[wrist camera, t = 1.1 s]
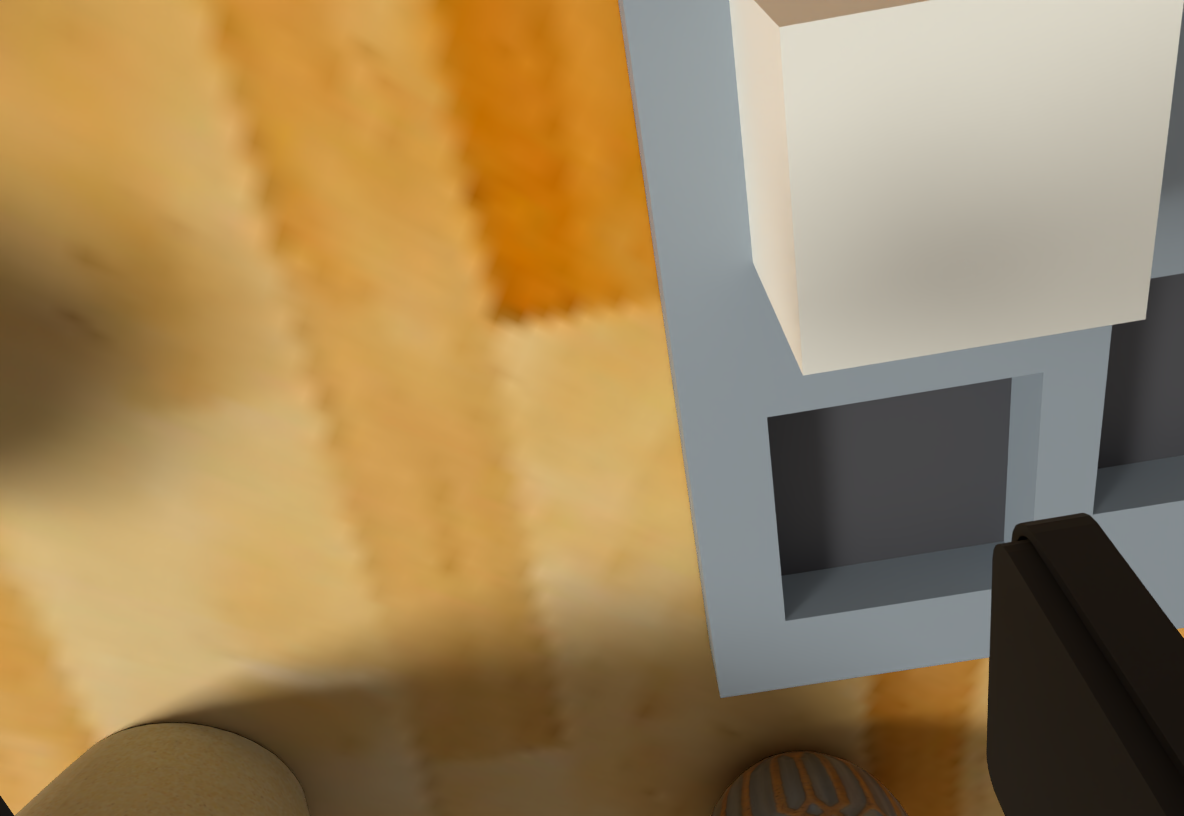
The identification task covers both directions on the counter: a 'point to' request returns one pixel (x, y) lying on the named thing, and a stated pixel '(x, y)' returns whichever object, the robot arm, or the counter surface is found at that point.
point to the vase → (807, 789)
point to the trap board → (880, 417)
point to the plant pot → (173, 777)
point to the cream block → (951, 167)
